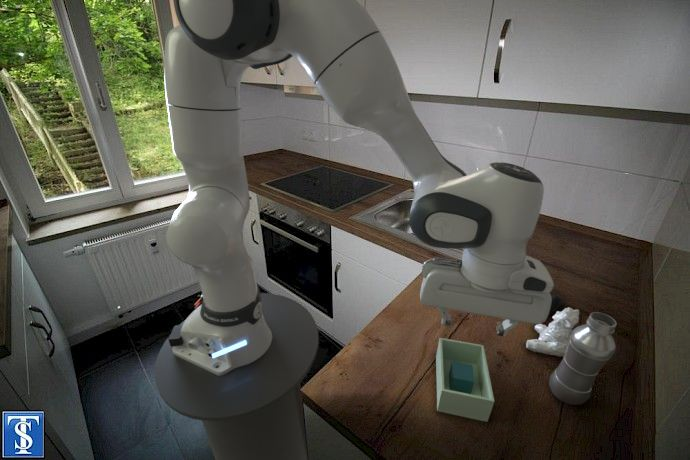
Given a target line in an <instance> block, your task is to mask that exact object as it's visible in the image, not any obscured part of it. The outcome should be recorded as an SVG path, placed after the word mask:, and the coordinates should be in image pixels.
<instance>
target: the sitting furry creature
mask: <svg viewBox="0 0 690 460" xmlns="http://www.w3.org/2000/svg"><path fill="white" fill-rule="evenodd" d="M551 318H552V319H553V320H552V321H551V322H549V323H548V326H547V325H546V324H543V323H541V324H535V326H534V328H533V329H534V331H536V333H538V334H539V337H538V339H537V338H535V339H533V338H532V339H527V340H526V343H525V347H526V349H527V350H529V351H531V352H533V353H539V354H545V355H549V356H555V357H559V358H561V357H562V358H564V355H565V353H566V350H567V347H568V342H569V338H570V334H571V332H572V331H573V328H574V326H576V325H577V324H578V323H579V322H580V310H579V309H578V308H577V309H573V308H572V307H569V306H568V307H565V308H564V309H563V310H562V311H558V310H556V312H555V313H554V315H552V317H551Z"/></svg>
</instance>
